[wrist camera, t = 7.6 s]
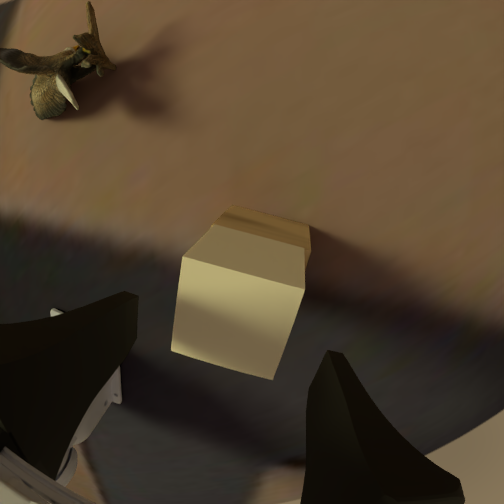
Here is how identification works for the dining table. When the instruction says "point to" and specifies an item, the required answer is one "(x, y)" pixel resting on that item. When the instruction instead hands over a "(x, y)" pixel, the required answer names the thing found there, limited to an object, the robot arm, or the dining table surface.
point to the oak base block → (267, 227)
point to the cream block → (238, 300)
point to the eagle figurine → (60, 69)
